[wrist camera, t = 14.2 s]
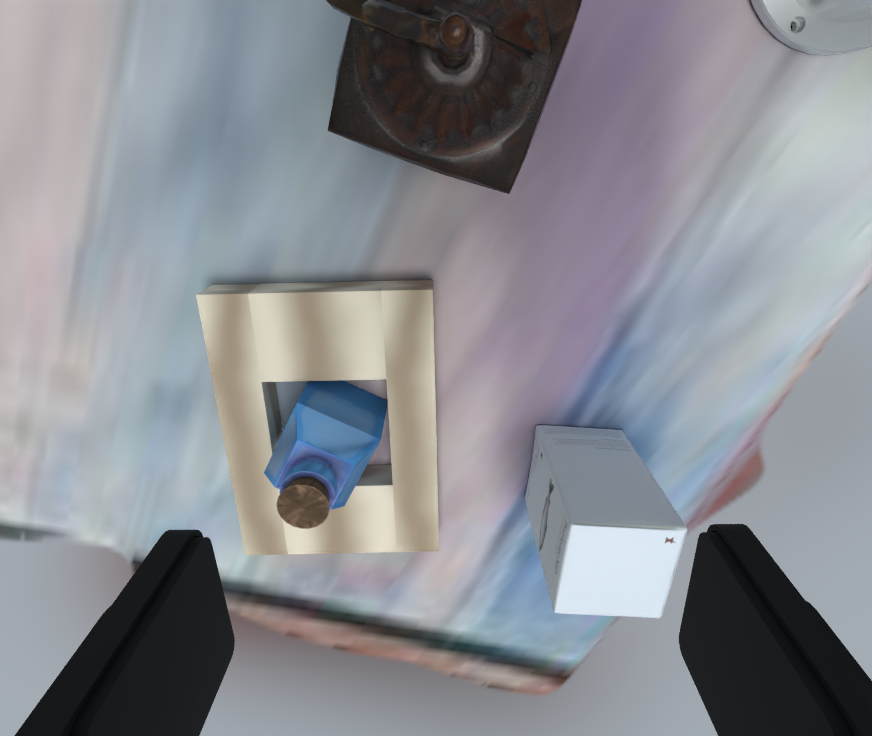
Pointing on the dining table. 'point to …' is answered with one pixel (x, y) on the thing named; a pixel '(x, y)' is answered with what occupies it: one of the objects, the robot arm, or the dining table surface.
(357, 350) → the hole board
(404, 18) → the coffee grinder
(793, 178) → the dining table surface
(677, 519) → the supplement box
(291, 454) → the perfume bottle
